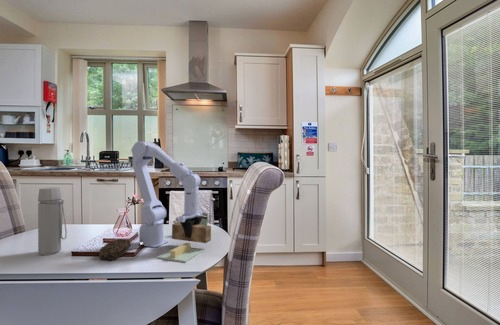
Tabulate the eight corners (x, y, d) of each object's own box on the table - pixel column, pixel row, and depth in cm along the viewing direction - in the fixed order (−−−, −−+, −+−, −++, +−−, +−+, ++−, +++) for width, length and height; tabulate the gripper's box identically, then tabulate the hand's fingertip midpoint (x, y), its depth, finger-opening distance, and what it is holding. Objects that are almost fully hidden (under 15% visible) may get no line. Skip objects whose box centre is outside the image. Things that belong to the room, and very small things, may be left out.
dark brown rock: (116, 249, 107) (116, 236, 107) (135, 252, 103) (135, 239, 103) (90, 259, 96) (90, 245, 96) (111, 262, 93) (111, 248, 93)
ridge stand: (157, 258, 97) (157, 250, 97) (176, 248, 108) (176, 240, 108) (185, 262, 93) (185, 254, 93) (202, 251, 104) (202, 243, 104)
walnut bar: (172, 238, 110) (172, 224, 110) (177, 236, 114) (177, 222, 114) (206, 243, 105) (206, 228, 105) (210, 240, 108) (210, 225, 108)
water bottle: (33, 257, 97) (33, 189, 97) (43, 250, 105) (43, 187, 105) (62, 254, 100) (62, 188, 100) (70, 248, 107) (70, 186, 107)
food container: (213, 233, 130) (213, 213, 130) (207, 236, 124) (208, 215, 124) (190, 231, 133) (190, 211, 133) (184, 234, 127) (184, 214, 127)
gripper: (190, 206, 101) (190, 241, 101) (208, 201, 115) (208, 232, 115) (174, 205, 103) (174, 239, 103) (194, 200, 117) (194, 230, 117)
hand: (191, 235), depth 109 cm, fingers closed on walnut bar, 4 cm apart
